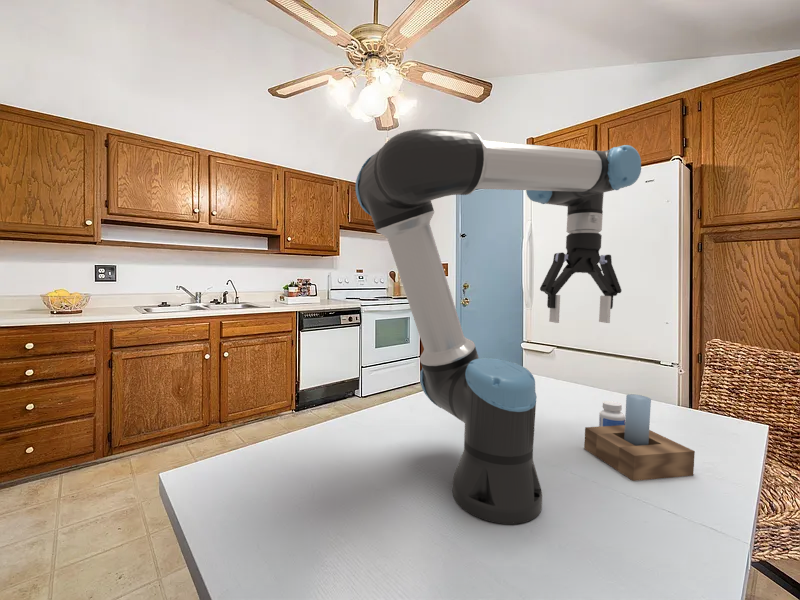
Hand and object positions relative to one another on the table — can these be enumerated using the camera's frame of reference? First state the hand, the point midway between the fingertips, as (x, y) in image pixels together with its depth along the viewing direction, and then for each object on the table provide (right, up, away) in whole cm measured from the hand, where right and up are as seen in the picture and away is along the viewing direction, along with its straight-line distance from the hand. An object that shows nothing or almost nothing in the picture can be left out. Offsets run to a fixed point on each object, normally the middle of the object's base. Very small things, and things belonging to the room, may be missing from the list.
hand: (579, 322), depth 89 cm
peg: (+7, -29, -9) cm, 32 cm away
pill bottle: (+8, -30, +1) cm, 31 cm away
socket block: (+7, -29, -9) cm, 32 cm away
